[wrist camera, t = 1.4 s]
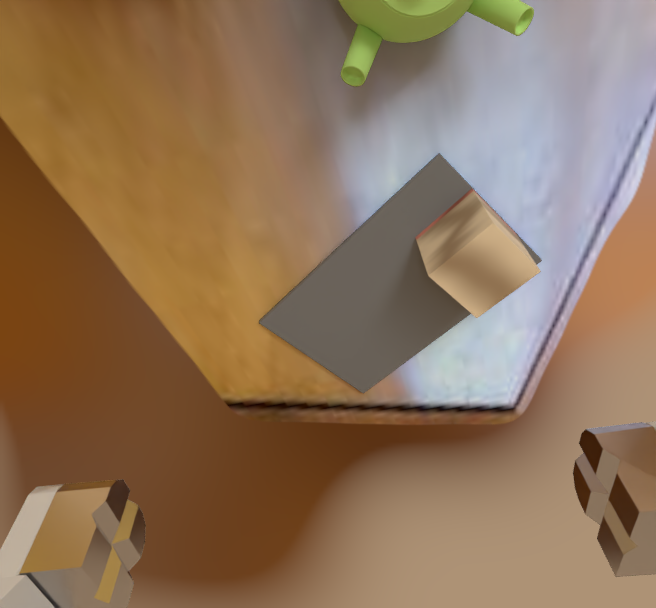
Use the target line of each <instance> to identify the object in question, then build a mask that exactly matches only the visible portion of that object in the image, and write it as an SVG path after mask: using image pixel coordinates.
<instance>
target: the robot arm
mask: <svg viewBox="0 0 656 608" xmlns="http://www.w3.org/2000/svg"><path fill="white" fill-rule="evenodd" d="M579 444H580V446H581V448H582V450H583V452H584V453H583V454H582V455H581V456H580V457H578V458H577V459H576V460H575V465H574V471H573V476H574V484H575V490H576V493H577V496H578V499H579V501H580V504H581V506H582V508H583V510H584V512H585V514H586V515H587V516H589V517H590V518H591V519H593V520H594V521H595V522H597V523H598V524H599V525H600V529H599V532H598V536H597V539H598V542H599V544H600V546H601V548H602V550H603V552H604V554H605V556H606V558H607V560H608V562H609V564H610V566H611V568H612V570H613V572H614V574H615V576H616V577H620V576H636V575H651V574H656V422H649V423H642V422H641V423H633V424H624V425H616V426H608V427H599V428H591V429H586V430H585V431H584V432H583V433H582V434H581V438H580V442H579ZM129 493H130V489H129V488H128V486H127V485H126V483H125V482H124V480H112V481H98V482H85V483H73V484H61V485H51V486H41V487H36V488H35V489H34V490H33V491H32V492H31V493H30V494H29V495H28V496H27V499H26V500H25V502H24V504H23V506H22V508H21V510H20V512H19V514H18V516H17V518H16V520H15V522H14V524H13V526H12V528H11V530H10V532H9V534H8V536H7V538H6V540H5V542H4V544H3V546H2V548H1V550H0V608H127V607H128V603H129V600H130V596H131V592H132V589H133V585H134V582H133V579H132V577H131V575H130V573H129V571H130V569H131V568H132V567H133V566H134V565H135V564H136V563H137V562H138V561H139V559H140V558H141V555H142V551H143V547H144V543H145V527H146V525H145V521H144V517H143V513H142V511H141V509H140V507H139V505H137V504H135V503H133V502H131V501H129V500H128V496H129Z"/></svg>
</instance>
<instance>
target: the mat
mask: <svg viewBox="0 0 656 608" xmlns="http://www.w3.org/2000/svg"><path fill="white" fill-rule="evenodd" d="M471 189H473V188H472V187H471V186H470V185H469V184H468V183H467V182H466V181H465V180H464V179H463V178H462V176H461V175H460V174H459V173H458V172H457V171H456V170H455V169H454V168H453V167H452V166H451V165H450V164H449V163H448V162H447V161H446V160H445V159H444V158H443V157H442V156H441V155H440V154H438V155H436V156H435V157H434V158H433V159H432V160H431V161H430V162H429V163H428V164H427V165H426V166H425V167H424V168H423V169H421V170H420V171H419V172H418V173H417V174H416V175H415V176H414V177H413V178H412V179H411V180H410V181H409V182H407V183H406V184H405V185H404V186H403V187H402V188H401V189H400V190H399V191H398V192H397V193H396V194H395V195H394V196H392V197H391V198H390V199H389V200H388V201H387V202H386V203H385V204H384V205H383V206H382V207H381V208H380V209H379V210H377V211H376V212H375V213H374V214H373V215H372V216H371V217H370V218H369V219H368V220H367V221H366V222H365V223H363V224H362V225H361V226H360V227H359V228H358V229H357V230H356V231H355V232H354V233H353V234H352V235H351V236H350V237H348V238H347V239H346V240H345V241H344V242H343V243H342V244H341V245H340V246H339V247H338V248H337V249H336V250H334V251H333V252H332V253H331V254H330V255H329V256H328V257H327V258H326V259H325V260H324V261H323V262H322V263H321V264H319V265H318V266H317V267H316V268H315V269H314V270H313V271H312V272H311V273H310V274H309V275H308V276H307V277H306V278H304V279H303V280H302V281H301V282H300V283H299V284H298V285H297V286H296V287H295V288H294V289H293V290H292V291H290V292H289V293H288V294H287V295H286V296H285V297H284V298H283V299H282V300H281V301H280V302H279V303H278V304H277V305H275V306H274V307H273V308H272V309H271V310H270V311H269V312H268V313H267V314H266V315H265V316H264V317H263V318H261V319H260V320H259V323H260V324H261V325H263V326H264V327H266V328H267V329H269V330H270V331H272V332H273V333H275V334H276V335H277V336H279V337H280V338H282V339H283V340H285V341H286V342H288V343H289V344H291V345H292V346H294V347H295V348H297V349H298V350H300V351H301V352H303V353H304V354H306V355H307V356H309V357H310V358H312V359H313V360H315V361H316V362H317V363H319V364H320V365H322V366H323V367H325V368H326V369H328V370H329V371H331V372H332V373H334V374H335V375H337V376H338V377H340V378H341V379H343V380H344V381H346V382H347V383H349V384H350V385H352V386H353V387H355V388H356V389H358V390H359V391H360V392H362V393H365V392H366V391H367V390H369V389H370V388H371V387H373V386H374V385H375V384H377V383H378V382H379V381H381V380H382V379H383V378H385V377H386V376H387V375H389V374H390V373H391V372H393V371H394V370H396V369H397V368H398V367H400V366H401V365H402V364H404V363H405V362H406V361H408V360H409V359H410V358H412V357H413V356H414V355H416V354H417V353H418V352H420V351H421V350H422V349H424V348H425V347H426V346H428V345H429V344H431V343H432V342H433V341H435V340H436V339H437V338H439V337H440V336H441V335H443V334H444V333H445V332H447V331H448V330H449V329H451V328H452V327H453V326H455V325H456V324H457V323H459V322H460V321H461V320H463V319H464V318H465V317H467V316H468V315H470V314H471V313H470V312H469V311H468V310H467V309H466V308H464V307H463V306H462V305H461V304H460V303H459V302H458V301H456V300H455V299H454V298H453V297H452V296H451V295H450V294H448V293H447V292H446V291H445V290H444V289H443V288H442V287H440V286H439V285H438V284H437V283H436V282H435V281H434V280H432V279H431V278H430V277H429V276H428V274H427V271H426V268H425V265H424V262H423V259H422V256H421V253H420V250H419V247H418V244H417V241H416V238H415V237H416V236H417V235H419V234H420V233H421V232H422V231H423V230H424V229H426V228H427V227H428V226H429V225H430V224H431V223H432V222H434V221H435V220H436V219H437V218H438V217H439V216H441V215H442V214H443V213H444V212H445V211H446V210H447V209H449V208H450V207H451V206H452V205H453V204H454V203H456V202H457V201H458V200H459V199H460V198H461V197H462V196H464V195H465V194H466V193H467V192H468V191H469V190H471ZM473 190H474V189H473ZM474 191H475V190H474ZM475 192H476V191H475ZM476 193H477V192H476ZM477 194H478V193H477ZM478 195H479V194H478ZM479 196H480V195H479ZM480 197H481V196H480ZM481 198H482V197H481ZM482 199H483V198H482ZM483 200H484V199H483ZM484 201H485V200H484ZM485 202H486V201H485ZM486 203H487V202H486ZM487 204H488V203H487ZM496 214H497V213H496ZM497 215H498V214H497ZM498 216H499V215H498ZM499 217H500V216H499ZM500 218H501V217H500ZM501 219H502V218H501ZM502 220H503V219H502ZM503 221H504V220H503ZM504 222H505V221H504ZM505 223H506V222H505ZM506 224H507V223H506ZM507 225H508V224H507ZM508 226H509V225H508ZM509 227H510V226H509ZM510 228H511V227H510ZM511 229H512V228H511ZM512 230H513V229H512ZM513 231H514V230H513ZM514 232H515V231H514ZM516 235H517V234H516ZM517 236H518V235H517ZM518 238H519V239H520V241H521V242H522V244H523V245H524V247H525V248H526V250H527V251H528V253H529V254H530V256H531V257H532V259H533V260H534V262H535V263H536V265H537V264H538V263H539V262H541V261H542V260H541V259H540V257H539V256H538V255H537V254H536V253H535V252H534V251H533V250H532V249H531V248H530V247H529V246H528V245H527V244H526V243H525V242H524V241H523V240H522V239H521V238H520V237H519V236H518Z"/></svg>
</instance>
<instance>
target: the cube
mask: <svg viewBox="0 0 656 608" xmlns="http://www.w3.org/2000/svg"><path fill="white" fill-rule="evenodd" d="M415 238H416V241H417V244H418V247H419V250H420V253H421V256H422V259H423V262H424V265H425V268H426V271H427V274H428V276H429V277H430V278H431V279H432V280H434V281H435V282H436V283H437V284H438V285H439V286H440V287H442V288H443V289H444V290H445V291H446V292H447V293H448V294H450V295H451V296H452V297H453V298H454V299H455V300H456V301H458V302H459V303H460V304H461V305H462V306H463V307H464V308H466V309H467V310H468V311H469V312H470V313H471V314H473V315H474V316H475V317H476V318H478V317H479V316H481V315H482V314H483V313H485V312H486V311H487V310H489V309H490V308H492V307H493V306H494V305H496V304H497V303H498V302H500V301H501V300H502V299H504V298H505V297H506V296H508V295H509V294H511V293H512V292H513V291H515V290H516V289H517V288H519V287H520V286H521V285H523V284H524V283H526V282H527V281H528V280H530V279H531V278H532V277H534V276H535V275H536V274H538V273H539V272H541V271H540V269H539V268H538V266H537V265H536V263H535V262H534V260H533V259H532V257H531V256H530V254H529V253H528V251H527V250H526V248H525V247H524V245H523V244H522V242H521V241H520V239H519V238H518V236H517V235H516V233H515V232H514V231H513V230H512V229H511V228H510V227H509V226H508V225H507V224H506V223H505V222H504V221H503V220H502V219H501V218H500V217H499V216H498V215H497V214H496V212H495V211H494V210H493V209H492V208H491V207H490V206H489V205H488V204H487V203H486V202H485V201H484V200H483V199H482V198H481V197H480V196H479V195H478V194H477V193H476V192H475V191H474V190H473V189H471V190H469V191H468V192H467V193H466V194H465V195H464V196H462V197H461V198H460V199H459V200H458V201H457V202H456V203H454V204H453V205H452V206H451V207H450V208H449V209H447V210H446V211H445V212H444V213H443V214H442V215H441V216H439V217H438V218H437V219H436V220H435V221H434V222H432V223H431V224H430V225H429V226H428V227H427V228H426V229H424V230H423V231H422V232H421V233H420V234H419V235H417V236H416V237H415Z"/></svg>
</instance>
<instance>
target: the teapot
mask: <svg viewBox="0 0 656 608" xmlns="http://www.w3.org/2000/svg"><path fill="white" fill-rule="evenodd" d="M338 1H339V2H340V4H341V6H342V7H343V9H344V10H345V12H346V13H347V14H348V15H349V17H350V18H351V19H352V20H353V21H354V22H355V23H356V24H357V25H358V26H357V28H356V31H355V34H354V37H353V39H352V42H351V45H350V48H349V50H348V53H347V56H346V59H345V61H344V64H343V67H342V70H341V78H342V79H343V81H344V82H345V83H347V84H348V85H351V86H355V87H357V86H361V85H363V84H364V82H365V80H366V77H367V75H368V73H369V70H370V68H371V66H372V63H373V61H374V58H375V56H376V54H377V51H378V49H379V46H380V44H381V42H382V39H383V40H386V41H391V42H396V43H410V42H418V41H422V40H425V39H428V38H431V37H433V36H436V35H438V34H439V33H441V32H443V31H445V30H446V29H447V28H449V27H450V26H452V25H453V24H454V23H455V22H456V21H457V20H459V19H460V18H461V17H462V16H463V15H464V13H465V12H466V11H467V12H469V13H471V14H473V15H475V16H477V17H479V18H482V19H484V20H486V21H488V22H490V23H492V24H494V25H496V26H498V27H500V28H502V29H504V30H506V31H508V32H510V33H512V34H514V35H516V36H519V35H521V34H522V33H523V32H524V31H525V30H526V29H527V28H528V26H529V25H530V23H531V21H532V18H533V15H534V9H533V8H532V7H530V6H528V5H527V4H525V3H523V2H521V1H519V0H338Z"/></svg>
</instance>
